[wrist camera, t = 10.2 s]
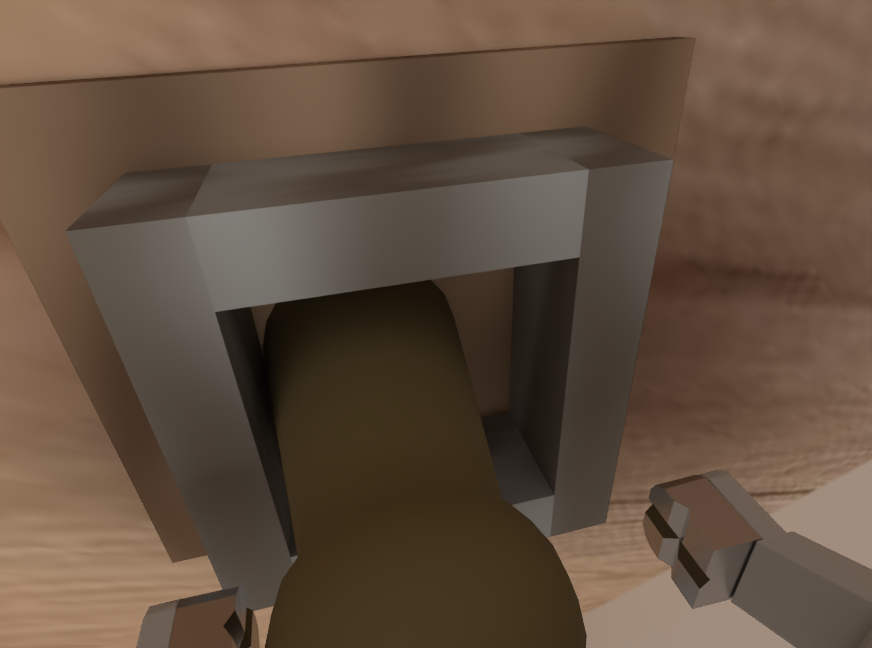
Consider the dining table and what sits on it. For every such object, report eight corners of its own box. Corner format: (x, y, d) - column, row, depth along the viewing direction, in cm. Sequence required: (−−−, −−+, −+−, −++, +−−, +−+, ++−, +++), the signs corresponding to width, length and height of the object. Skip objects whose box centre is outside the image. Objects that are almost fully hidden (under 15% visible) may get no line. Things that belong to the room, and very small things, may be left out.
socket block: (677, 36, 15) (821, 45, 11) (606, 448, 23) (673, 539, 19) (-44, 88, 12) (-219, 127, 8) (176, 544, 20) (148, 677, 16)
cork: (469, 388, 18) (646, 763, 9) (301, 441, 18) (312, 896, 9) (436, 231, 15) (660, 569, 6) (229, 289, 15) (123, 765, 5)
